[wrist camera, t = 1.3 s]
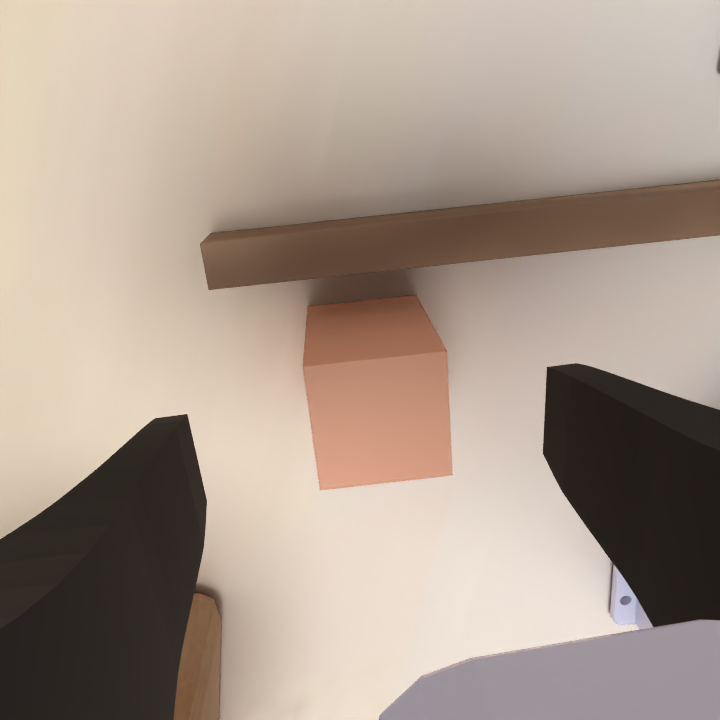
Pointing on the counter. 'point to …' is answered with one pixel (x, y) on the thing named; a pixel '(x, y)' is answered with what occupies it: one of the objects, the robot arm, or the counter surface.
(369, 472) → the block
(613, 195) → the strip
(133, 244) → the counter surface
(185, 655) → the wooden block
